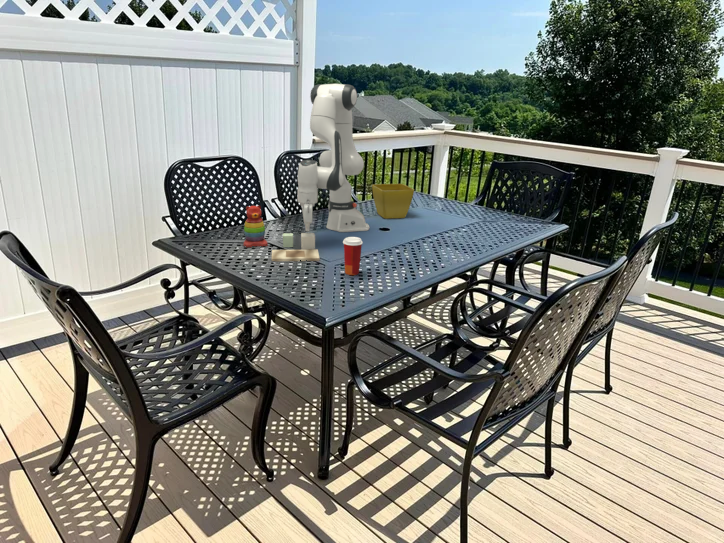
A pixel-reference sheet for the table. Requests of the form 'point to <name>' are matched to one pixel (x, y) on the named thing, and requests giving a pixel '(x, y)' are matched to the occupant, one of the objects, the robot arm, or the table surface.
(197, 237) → the table surface
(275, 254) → the base board
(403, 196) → the flower pot
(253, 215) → the stacking bear
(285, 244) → the sage cube
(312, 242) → the cream block
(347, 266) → the paper cup
